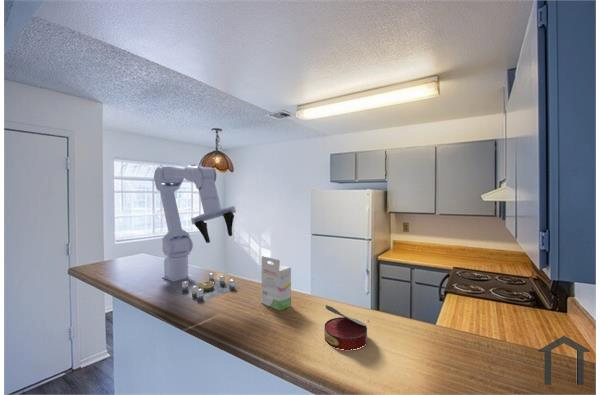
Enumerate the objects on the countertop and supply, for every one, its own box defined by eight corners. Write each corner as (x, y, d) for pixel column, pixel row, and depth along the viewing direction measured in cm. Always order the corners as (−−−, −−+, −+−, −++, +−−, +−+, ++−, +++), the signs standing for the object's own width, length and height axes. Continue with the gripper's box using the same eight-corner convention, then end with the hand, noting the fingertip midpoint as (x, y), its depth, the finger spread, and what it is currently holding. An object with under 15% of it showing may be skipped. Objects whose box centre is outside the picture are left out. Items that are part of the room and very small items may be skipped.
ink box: (292, 306, 85) (292, 257, 84) (280, 311, 81) (279, 260, 81) (272, 298, 91) (272, 252, 90) (260, 303, 87) (260, 255, 87)
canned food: (326, 351, 70) (321, 308, 74) (367, 347, 69) (359, 304, 74) (326, 354, 59) (320, 303, 64) (374, 350, 59) (365, 299, 63)
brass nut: (195, 289, 98) (195, 283, 98) (208, 285, 102) (208, 279, 102) (204, 292, 95) (203, 286, 95) (216, 288, 99) (216, 282, 99)
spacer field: (174, 292, 96) (174, 282, 96) (214, 280, 109) (214, 271, 109) (199, 303, 87) (199, 292, 87) (240, 288, 99) (240, 279, 99)
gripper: (184, 204, 92) (193, 245, 89) (227, 191, 93) (237, 231, 90) (192, 208, 99) (201, 245, 96) (233, 196, 99) (242, 233, 97)
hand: (219, 239), depth 93 cm, fingers open, 7 cm apart
